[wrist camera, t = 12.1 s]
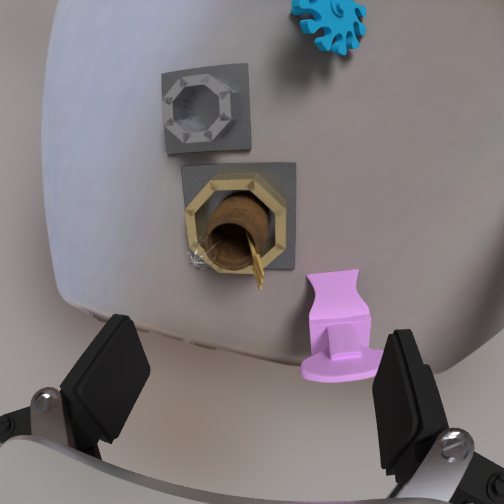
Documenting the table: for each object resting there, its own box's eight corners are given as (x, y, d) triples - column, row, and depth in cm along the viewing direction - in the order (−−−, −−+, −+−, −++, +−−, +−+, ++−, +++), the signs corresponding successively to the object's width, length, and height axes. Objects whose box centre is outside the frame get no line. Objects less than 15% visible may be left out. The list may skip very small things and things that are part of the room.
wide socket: (295, 162, 30) (296, 168, 26) (294, 266, 35) (294, 283, 32) (183, 165, 31) (170, 172, 28) (194, 264, 36) (185, 279, 33)
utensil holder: (217, 188, 31) (178, 231, 21) (277, 196, 31) (268, 246, 20) (213, 238, 34) (178, 300, 23) (269, 247, 34) (257, 315, 23)
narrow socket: (247, 64, 26) (242, 57, 22) (251, 148, 30) (246, 153, 26) (163, 74, 27) (149, 71, 24) (169, 153, 31) (155, 158, 27)
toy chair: (303, 331, 39) (303, 426, 26) (298, 275, 35) (297, 371, 22) (364, 325, 38) (385, 417, 24) (366, 268, 34) (400, 359, 20)
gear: (360, 73, 23) (290, 20, 16) (313, 69, 27) (241, 29, 20) (379, -8, 20) (320, -66, 13) (335, -5, 23) (273, -52, 17)
